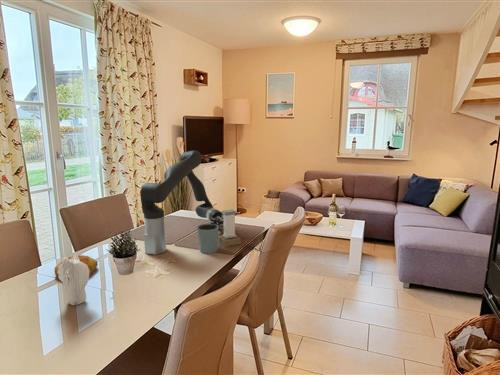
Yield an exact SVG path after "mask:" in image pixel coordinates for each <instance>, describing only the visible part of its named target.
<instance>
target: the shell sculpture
mask: <svg viewBox="0 0 500 375" xmlns="http://www.w3.org/2000/svg"><path fill="white" fill-rule="evenodd" d="M72 255H73V256H70V257H71V258H72V257H74V260H73V259H72V260H73V261H72V260H71V259H70V260H69V259H68V257H67V256H63V257H62V260H63V262H62V264H61V265H60V266H58V271H57V273H58V274H59V276H58V278H57V279H59V280H60V281H61V282H62V284H63V287H64V295H65V299H66V301H67V302H68V304H70V305H71V306H77V305H79V304H82V303H84V302H85V301H86V300H87V293H86V286H87V284H88V282H89V280H90V278H89V277H90V276H89V268H88V266H87V265H86V264H85V263H83V262H81V261H80V260H79V257H78V256H79V255H78V254H77V253H76V252H74V254H72ZM68 271H69V272H68ZM66 272H67V274H68V275H67V274H66ZM68 276H69V279H70V281H69V280H68Z"/></svg>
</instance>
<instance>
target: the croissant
mask: <svg viewBox="0 0 500 375" xmlns="http://www.w3.org/2000/svg"><path fill="white" fill-rule="evenodd" d="M71 257H72V258H71ZM78 257H79V260H80V261H81V262H83V263H85V264H86V265H87V266H88V268H89V277H90V276H92V275H93V273H94V272H95V270H96V269H97V267H98V265H99V264H98V261H97V259H94V258H92V257H91V256H89V255H83V254H82V255H78ZM67 258H68V259H69V260H70V259H71V260H72V259H73V260H74V257H73V256H68V257H67ZM73 260H72V261H73ZM62 262H63V259H62V260H61V261H60V262H59V263H58V264H57V265H55V267H54V275H55V276H56V278H57V279H59V278H58V276H59V274H58V273H57V271H58V266H60V265H61V264H62ZM68 272H69V271H68ZM66 274H67V272H66ZM67 275H68V274H67ZM68 280H69V282H70V279H69V276H68Z"/></svg>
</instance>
